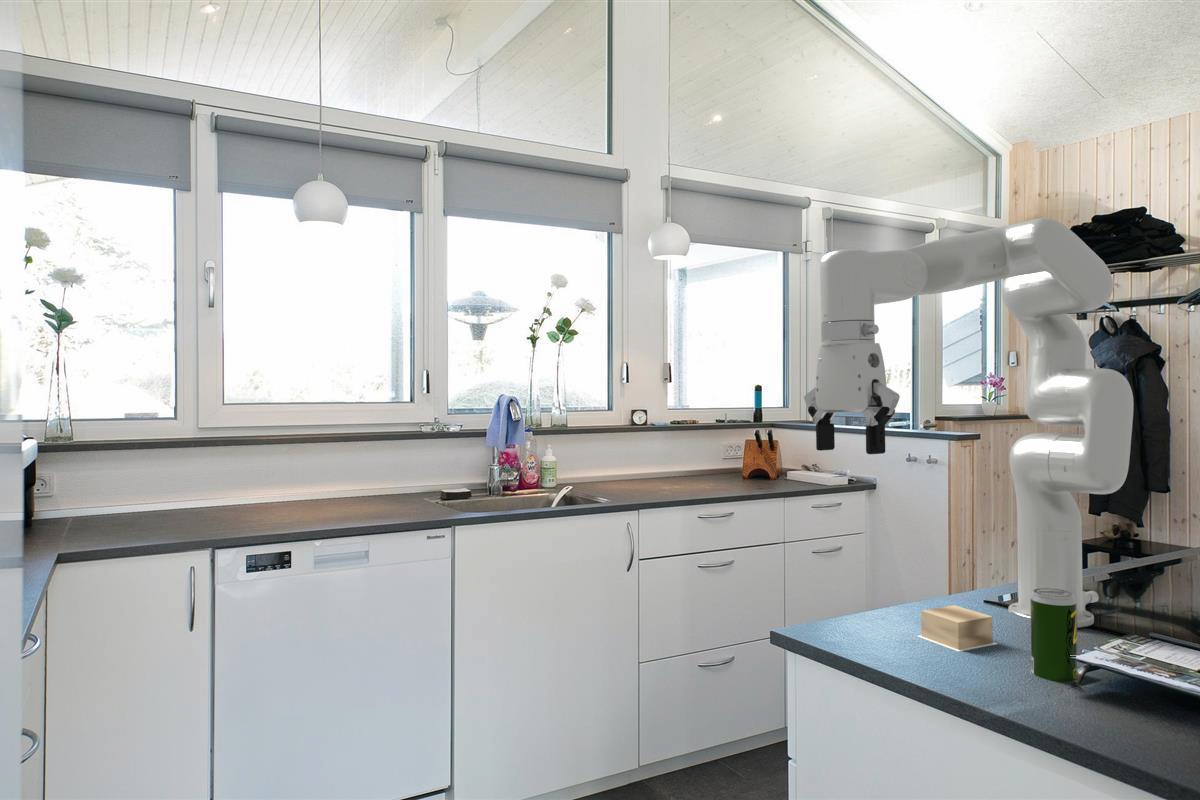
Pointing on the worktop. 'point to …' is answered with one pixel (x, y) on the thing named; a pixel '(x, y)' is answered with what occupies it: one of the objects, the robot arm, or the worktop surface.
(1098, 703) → the worktop surface
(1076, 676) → the beer can
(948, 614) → the oak block
